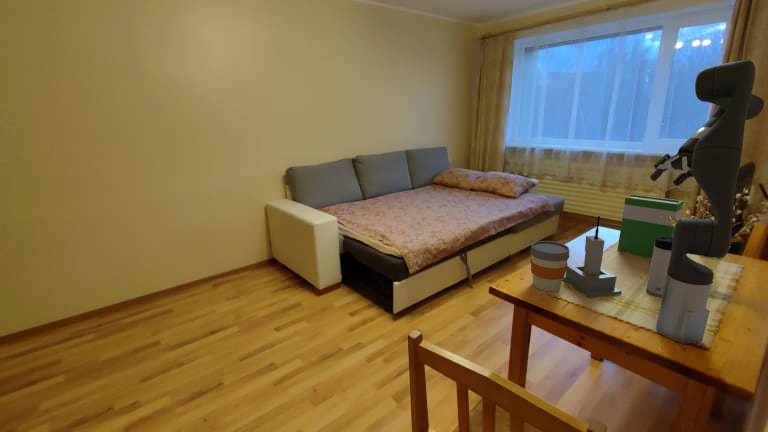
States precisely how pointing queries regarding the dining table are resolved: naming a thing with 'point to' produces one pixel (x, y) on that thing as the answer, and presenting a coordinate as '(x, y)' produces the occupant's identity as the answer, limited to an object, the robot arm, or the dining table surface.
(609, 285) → the box
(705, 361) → the dining table surface
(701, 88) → the robot arm
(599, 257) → the vintage mobile phone
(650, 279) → the travel mug
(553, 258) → the reusable coffee cup
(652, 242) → the hardback book
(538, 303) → the dining table surface
